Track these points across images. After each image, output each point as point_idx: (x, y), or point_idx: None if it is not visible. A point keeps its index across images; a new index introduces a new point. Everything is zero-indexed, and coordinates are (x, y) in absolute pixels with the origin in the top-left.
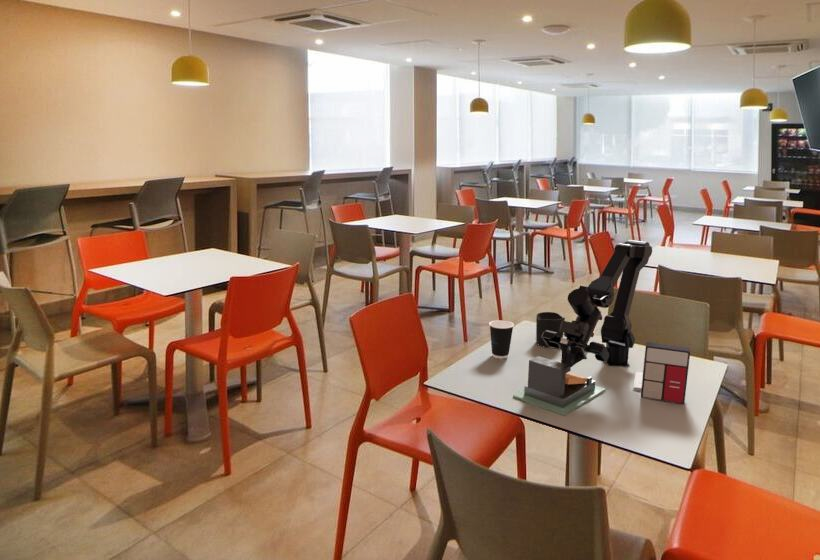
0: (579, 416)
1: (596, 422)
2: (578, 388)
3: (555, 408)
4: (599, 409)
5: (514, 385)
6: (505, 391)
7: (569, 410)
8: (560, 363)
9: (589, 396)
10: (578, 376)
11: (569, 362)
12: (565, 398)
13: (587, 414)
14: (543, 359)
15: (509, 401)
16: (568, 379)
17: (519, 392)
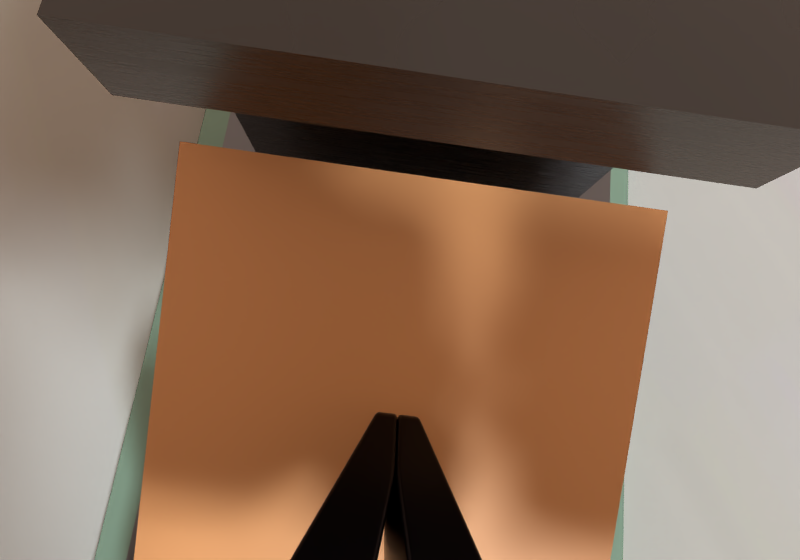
0: (131, 121)
1: (4, 103)
2: None
3: None
4: (27, 307)
5: (732, 325)
6: (711, 191)
7: (202, 124)
8: (281, 8)
9: (141, 461)
10: (215, 557)
11: (296, 558)
12: (229, 120)
13: (90, 179)
14: (670, 29)
15: None
16: (191, 145)
17: (621, 192)
